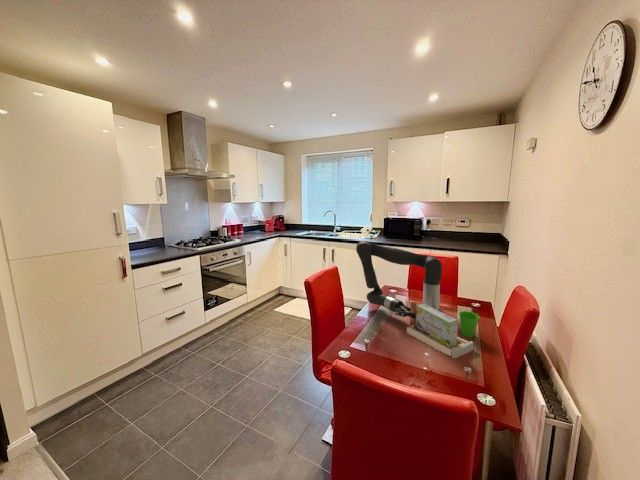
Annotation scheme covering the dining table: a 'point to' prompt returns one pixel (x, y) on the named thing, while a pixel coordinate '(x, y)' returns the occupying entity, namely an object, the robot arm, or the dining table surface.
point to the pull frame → (413, 326)
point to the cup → (468, 323)
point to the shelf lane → (454, 353)
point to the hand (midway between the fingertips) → (417, 316)
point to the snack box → (436, 325)
